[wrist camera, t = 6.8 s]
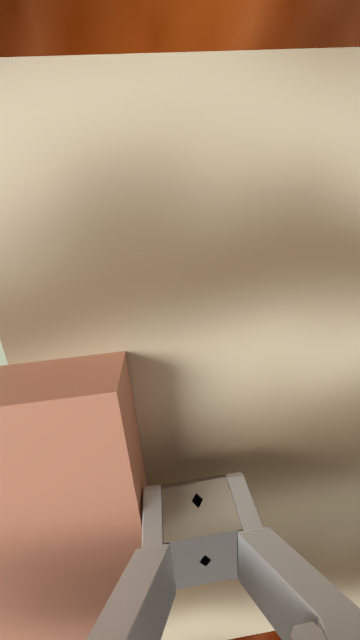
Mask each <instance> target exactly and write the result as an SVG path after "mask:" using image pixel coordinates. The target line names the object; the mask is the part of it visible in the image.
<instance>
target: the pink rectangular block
mask: <svg viewBox="0 0 360 640" xmlns="http://www.w3.org/2000/svg"><path fill="white" fill-rule="evenodd" d="M146 486H147V480H146V474H145V468H144V462H143V455H142V449H141V443H140V437H139V431H138V425H137V419H136V413H135V407H134V400H133V394H132V388H131V382H130V376H129V370H128V364H127V358H126V352H125V351H123V352H114V353H106V354H97V355H89V356H80V357H72V358H63V359H54V360H46V361H37V362H29V363H20V364H12V365H3V366H0V640H86V639H87V637H88V635H89V634H90V632H91V630H92V628H93V626H94V625H95V623H96V621H97V619H98V617H99V616H100V614H101V612H102V610H103V608H104V606H105V605H106V603H107V601H108V599H109V597H110V596H111V594H112V592H113V590H114V588H115V586H116V585H117V583H118V581H119V579H120V577H121V576H122V574H123V572H124V570H125V568H126V567H127V565H128V563H129V561H130V559H131V557H132V556H133V554H134V552H135V550H136V549H139V548H142V517H143V491H144V487H146Z"/></svg>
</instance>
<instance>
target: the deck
mask: <svg viewBox="0 0 360 640" xmlns="http://www.w3.org/2000/svg"><path fill="white" fill-rule="evenodd" d="M0 340H1V343H2V347H3V350H4V353H5V356H6V359H7V363H8V365H12V364H20V363H29V362H37V361H46V360H54V359H63V358H72V357H80V356H89V355H97V354H106V353H114V352H123V351H125V352H126V358H127V364H128V370H129V376H130V382H131V388H132V394H133V400H134V407H135V413H136V419H137V425H138V431H139V437H140V443H141V449H142V455H143V462H144V468H145V474H146V480H147V486H153V485H160V484H167V483H175V482H183V481H191V480H193V479H199V478H205V477H211V476H217V475H222V474H224V475H225V474H231V473H237V472H242V474H243V475H244V477H245V480H246V483H247V485H248V488H249V490H250V493H251V495H252V498H253V501H254V503H255V506H256V508H257V511H258V514H259V516H260V519H261V521H262V524H263V526H264V527H267V526H269V527H270V528H271V529H273V530H274V531H275V532H276V533H277V534H278V535H279V536H280V537H281V538H282V539H284V540H285V541H286V542H287V543H288V544H289V545H290V546H291V547H292V548H294V549H295V550H296V551H297V552H298V553H299V554H300V555H301V556H302V557H303V558H305V559H306V560H307V561H308V562H309V563H310V564H311V565H312V566H313V567H314V568H316V569H317V570H318V571H319V572H320V573H321V574H322V575H323V576H324V577H326V578H327V579H328V580H329V581H330V582H331V583H332V584H333V585H334V586H335V587H337V588H338V589H339V590H340V591H341V592H342V593H343V594H344V595H345V596H346V597H348V598H349V599H350V600H351V601H352V602H353V603H354V604H355V605H356V606H358V607H359V608H360V47H346V48H311V49H276V50H241V51H206V52H172V53H137V54H102V55H67V56H32V57H0ZM269 631H274V628H273V627H272V625H271V624H270V623H269V621H268V620H267V619H266V617H265V616H264V615H263V613H262V612H261V611H260V609H259V608H258V606H257V605H256V604H255V602H254V601H253V600H252V598H251V597H250V596H249V594H248V593H247V592H246V590H245V589H244V587H243V586H242V585H241V583H240V582H239V579H233V580H226V581H219V582H213V583H206V584H202V585H197V586H193V587H188V588H184V589H179V590H176V595H175V598H174V601H173V604H172V607H171V610H170V614H169V617H168V620H167V623H166V626H165V629H164V632H163V635H162V638H161V640H228V639H233V638H239V637H244V636H249V635H254V634H259V633H264V632H269Z"/></svg>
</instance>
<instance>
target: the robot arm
mask: <svg viewBox="0 0 360 640" xmlns="http://www.w3.org/2000/svg"><path fill="white" fill-rule="evenodd" d="M233 579H239V582H240V583H241V585H242V586H243V587H244V589H245V590H246V592H247V593H248V594H249V596H250V597H251V598H252V600H253V601H254V602H255V604H256V605H257V606H258V608H259V609H260V611H261V612H262V613H263V615H264V616H265V617H266V619H267V620H268V621H269V623H270V624H271V625H272V627H273V628H274V630H275V631H276V632H277V634H278V635H279V636H280V638H281V639H282V640H360V608H359V607H358V606H356V605H355V604H354V603H353V602H352V601H351V600H350V599H349V598H348V597H346V596H345V595H344V594H343V593H342V592H341V591H340V590H339V589H338V588H337V587H335V586H334V585H333V584H332V583H331V582H330V581H329V580H328V579H327V578H326V577H324V576H323V575H322V574H321V573H320V572H319V571H318V570H317V569H316V568H314V567H313V566H312V565H311V564H310V563H309V562H308V561H307V560H306V559H305V558H303V557H302V556H301V555H300V554H299V553H298V552H297V551H296V550H295V549H294V548H292V547H291V546H290V545H289V544H288V543H287V542H286V541H285V540H284V539H282V538H281V537H280V536H279V535H278V534H277V533H276V532H275V531H274V530H273V529H271V528H270V527H269V526H267V527H264V526H263V524H262V521H261V519H260V516H259V514H258V511H257V508H256V506H255V503H254V501H253V498H252V495H251V493H250V490H249V488H248V485H247V483H246V480H245V477H244V475H243V474H242V472H237V473H231V474H225V475H224V474H222V475H217V476H211V477H205V478H199V479H193V480H191V481H183V482H175V483H167V484H160V485H153V486H146V487H144V491H143V517H142V548H139V549H136V550H135V552H134V554H133V556H132V557H131V559H130V561H129V563H128V565H127V567H126V568H125V570H124V572H123V574H122V576H121V577H120V579H119V581H118V583H117V585H116V586H115V588H114V590H113V592H112V594H111V596H110V597H109V599H108V601H107V603H106V605H105V606H104V608H103V610H102V612H101V614H100V616H99V617H98V619H97V621H96V623H95V625H94V626H93V628H92V630H91V632H90V634H89V635H88V637H87V639H86V640H161V638H162V635H163V632H164V629H165V626H166V623H167V620H168V617H169V614H170V610H171V607H172V604H173V601H174V598H175V595H176V590H179V589H184V588H188V587H193V586H197V585H202V584H206V583H213V582H219V581H226V580H233Z"/></svg>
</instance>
